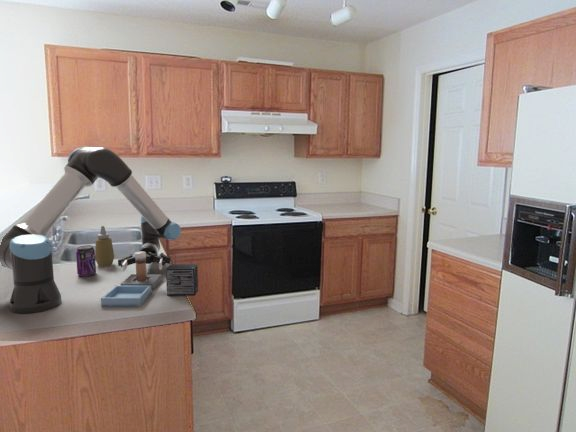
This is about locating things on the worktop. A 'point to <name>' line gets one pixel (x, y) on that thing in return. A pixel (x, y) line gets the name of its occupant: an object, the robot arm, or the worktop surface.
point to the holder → (151, 281)
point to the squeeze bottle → (104, 249)
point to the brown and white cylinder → (140, 266)
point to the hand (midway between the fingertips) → (141, 267)
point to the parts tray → (126, 296)
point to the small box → (182, 279)
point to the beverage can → (85, 260)
